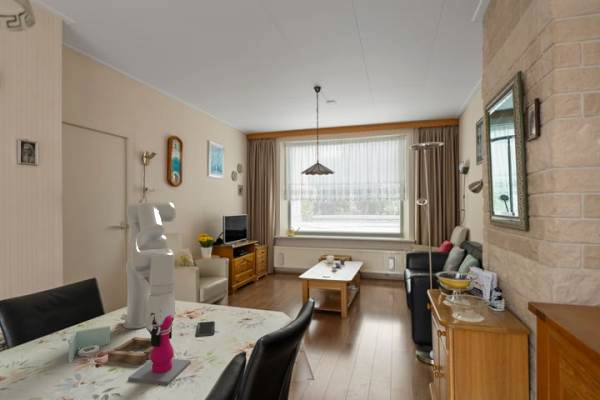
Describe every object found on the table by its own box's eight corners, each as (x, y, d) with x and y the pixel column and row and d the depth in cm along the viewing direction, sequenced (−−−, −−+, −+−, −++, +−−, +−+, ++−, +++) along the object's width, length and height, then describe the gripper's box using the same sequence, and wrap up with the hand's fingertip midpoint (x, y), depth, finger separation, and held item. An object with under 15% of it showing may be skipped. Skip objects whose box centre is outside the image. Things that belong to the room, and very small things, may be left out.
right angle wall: (68, 364, 114) (69, 342, 114) (73, 350, 124) (74, 331, 124) (108, 356, 119) (108, 336, 119) (109, 344, 130) (110, 325, 130)
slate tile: (128, 380, 102) (128, 377, 102) (155, 359, 116) (155, 356, 116) (168, 384, 100) (168, 381, 100) (190, 363, 113) (190, 360, 114)
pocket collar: (107, 361, 115) (108, 352, 115) (134, 344, 128) (134, 337, 128) (142, 364, 112) (143, 356, 112) (166, 347, 126) (166, 339, 126)
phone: (195, 335, 136) (197, 322, 151) (195, 337, 136) (197, 324, 151) (214, 333, 138) (215, 321, 153) (214, 336, 138) (215, 323, 153)
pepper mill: (178, 365, 110) (178, 306, 110) (163, 375, 103) (163, 313, 103) (161, 361, 112) (161, 304, 113) (145, 372, 105) (146, 311, 106)
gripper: (166, 282, 117) (166, 331, 117) (135, 294, 100) (134, 352, 100) (185, 283, 116) (185, 333, 116) (156, 296, 99) (156, 354, 99)
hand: (161, 341), depth 108 cm, fingers open, 5 cm apart
